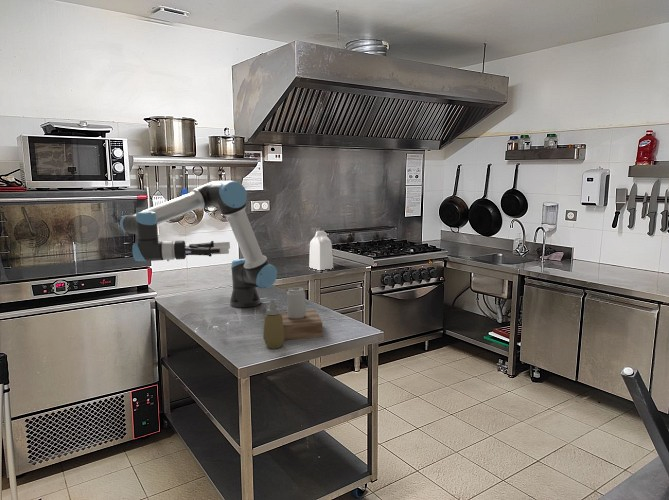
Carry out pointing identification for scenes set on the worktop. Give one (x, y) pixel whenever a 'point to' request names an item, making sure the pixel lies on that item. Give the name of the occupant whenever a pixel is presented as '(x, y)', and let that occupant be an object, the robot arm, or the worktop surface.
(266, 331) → the squeeze bottle
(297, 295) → the can
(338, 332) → the worktop surface
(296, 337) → the walnut block
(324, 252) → the milk
